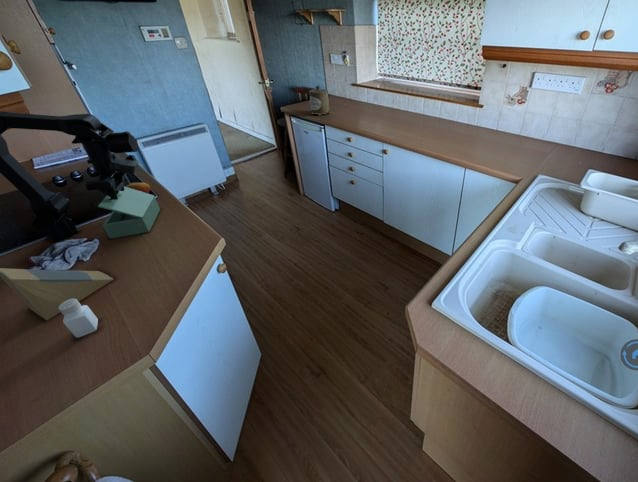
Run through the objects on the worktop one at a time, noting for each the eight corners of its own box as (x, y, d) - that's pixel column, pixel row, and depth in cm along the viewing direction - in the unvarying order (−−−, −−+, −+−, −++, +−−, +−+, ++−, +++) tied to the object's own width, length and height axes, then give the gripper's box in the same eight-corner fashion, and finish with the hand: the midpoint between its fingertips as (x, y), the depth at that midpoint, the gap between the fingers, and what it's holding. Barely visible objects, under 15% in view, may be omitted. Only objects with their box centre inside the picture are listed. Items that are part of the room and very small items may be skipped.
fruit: (122, 202, 120) (120, 182, 119) (134, 201, 127) (131, 183, 127) (145, 199, 121) (142, 180, 121) (155, 199, 129) (153, 181, 129)
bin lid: (97, 206, 96) (102, 194, 95) (115, 185, 108) (120, 174, 107) (142, 218, 103) (147, 207, 102) (154, 196, 115) (159, 186, 114)
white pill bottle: (97, 331, 72) (77, 305, 67) (76, 339, 70) (53, 314, 65) (99, 319, 75) (80, 294, 70) (78, 327, 73) (57, 302, 68)
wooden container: (307, 113, 241) (304, 85, 230) (322, 109, 251) (319, 83, 240) (319, 116, 233) (316, 88, 222) (333, 113, 243) (331, 85, 231)
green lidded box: (110, 238, 102) (102, 225, 99) (125, 214, 115) (119, 202, 112) (149, 231, 106) (142, 218, 103) (160, 209, 118) (154, 197, 115)
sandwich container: (115, 279, 86) (89, 240, 79) (47, 321, 74) (9, 279, 67) (98, 270, 89) (72, 231, 82) (30, 309, 77) (-8, 268, 70)
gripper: (119, 162, 91) (138, 205, 99) (138, 142, 106) (153, 180, 114) (73, 166, 87) (97, 210, 95) (100, 145, 102) (118, 184, 110)
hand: (119, 195), depth 104 cm, fingers closed on bin lid, 6 cm apart
